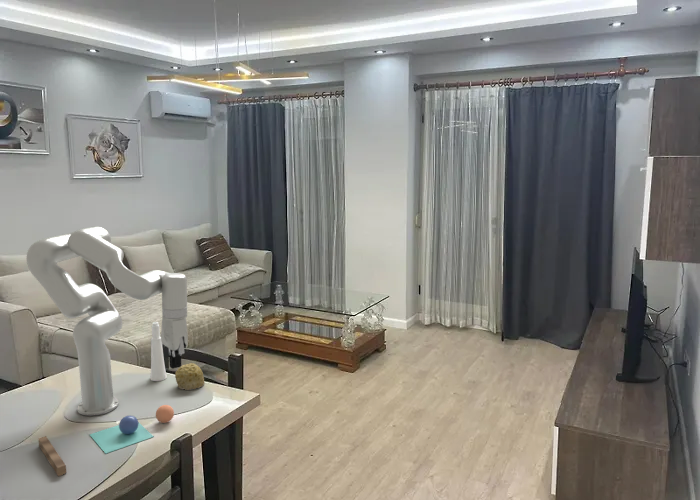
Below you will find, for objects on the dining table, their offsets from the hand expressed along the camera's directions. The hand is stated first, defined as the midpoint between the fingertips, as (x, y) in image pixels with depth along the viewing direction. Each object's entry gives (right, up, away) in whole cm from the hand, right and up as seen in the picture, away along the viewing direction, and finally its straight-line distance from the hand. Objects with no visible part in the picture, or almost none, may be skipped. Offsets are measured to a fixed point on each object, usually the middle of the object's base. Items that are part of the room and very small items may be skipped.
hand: (175, 366), depth 174 cm
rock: (-3, -13, +25) cm, 28 cm away
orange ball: (-3, -14, -3) cm, 15 cm away
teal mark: (-13, -19, -11) cm, 25 cm away
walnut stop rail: (-27, -21, -24) cm, 41 cm away
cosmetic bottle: (-17, -11, +31) cm, 37 cm away
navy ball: (-11, -16, -10) cm, 22 cm away
